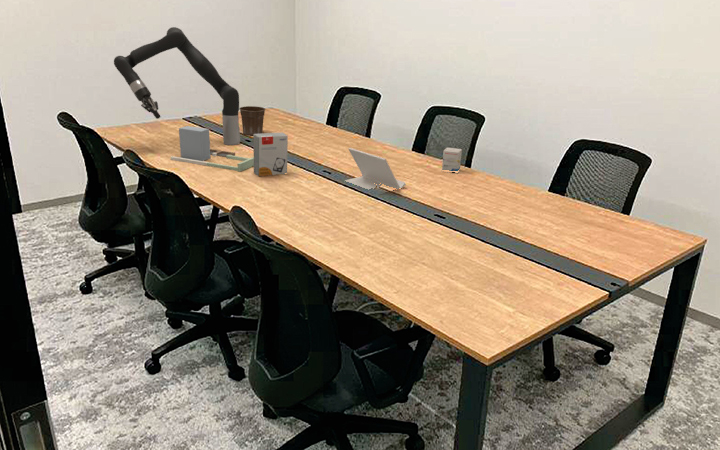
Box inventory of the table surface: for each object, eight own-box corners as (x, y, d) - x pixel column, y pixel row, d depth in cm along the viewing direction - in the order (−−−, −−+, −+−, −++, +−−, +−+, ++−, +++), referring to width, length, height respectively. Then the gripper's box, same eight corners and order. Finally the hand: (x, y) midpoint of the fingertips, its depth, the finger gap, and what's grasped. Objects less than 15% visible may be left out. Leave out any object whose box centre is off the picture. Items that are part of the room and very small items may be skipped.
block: (189, 154, 319) (187, 125, 313) (210, 158, 315) (209, 129, 309) (180, 157, 313) (178, 128, 307) (202, 161, 309) (200, 131, 303)
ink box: (460, 170, 314) (462, 148, 310) (457, 174, 307) (459, 152, 302) (444, 167, 317) (446, 146, 312) (441, 171, 309) (443, 150, 305)
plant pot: (271, 133, 375) (270, 108, 369) (254, 137, 362) (253, 111, 357) (252, 129, 383) (251, 105, 377) (234, 133, 370) (233, 108, 365)
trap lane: (199, 149, 330) (198, 142, 329) (266, 160, 316) (266, 153, 314) (169, 160, 308) (169, 152, 306) (240, 171, 293) (239, 164, 292)
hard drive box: (258, 177, 287) (257, 137, 279) (253, 172, 293) (252, 133, 286) (287, 174, 293) (287, 135, 286) (282, 170, 300) (282, 131, 292)
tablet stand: (379, 195, 269) (381, 159, 263) (343, 182, 286) (344, 148, 279) (406, 188, 280) (408, 153, 274) (370, 176, 297) (372, 143, 291)
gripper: (138, 86, 305) (157, 115, 306) (151, 85, 317) (170, 113, 319) (128, 94, 307) (147, 122, 309) (142, 93, 319) (160, 120, 321)
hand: (158, 117), depth 314 cm, fingers closed
